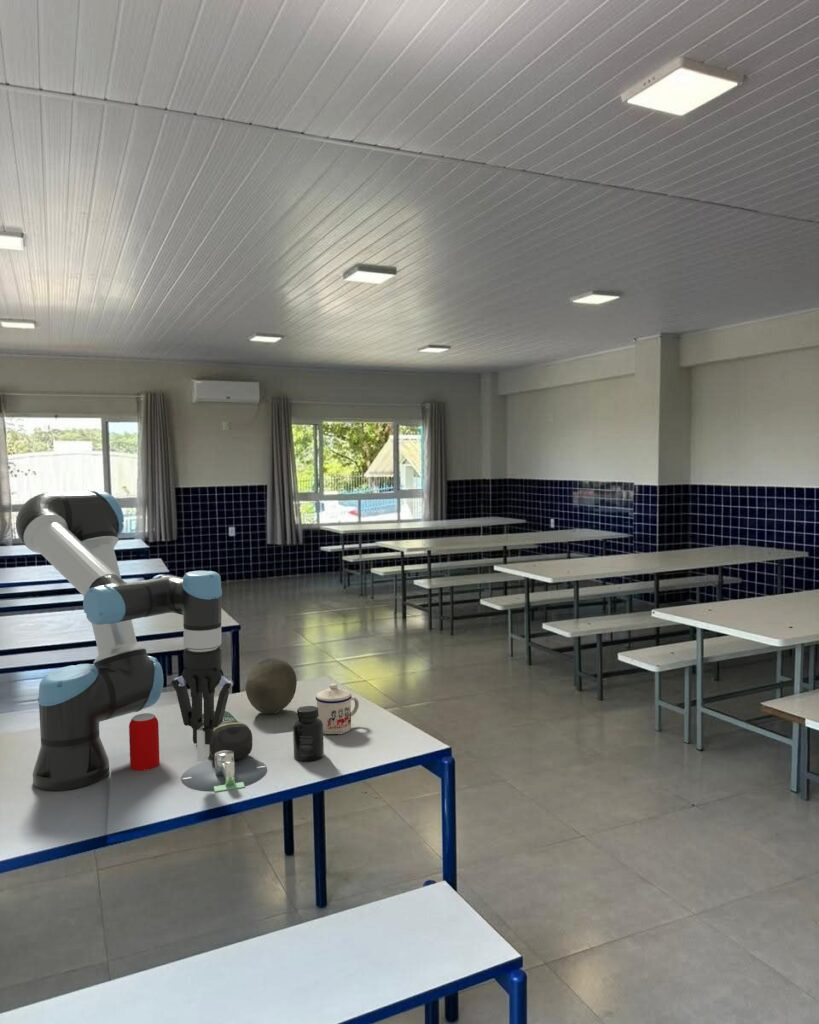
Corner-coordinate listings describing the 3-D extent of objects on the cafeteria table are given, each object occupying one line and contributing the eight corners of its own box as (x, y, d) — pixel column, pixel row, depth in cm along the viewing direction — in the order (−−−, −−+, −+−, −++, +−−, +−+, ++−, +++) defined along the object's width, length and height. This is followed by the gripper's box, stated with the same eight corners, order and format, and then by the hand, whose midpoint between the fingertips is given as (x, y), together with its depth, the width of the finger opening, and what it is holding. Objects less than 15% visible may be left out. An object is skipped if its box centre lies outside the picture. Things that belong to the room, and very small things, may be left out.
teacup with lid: (328, 738, 182) (327, 692, 181) (309, 728, 189) (308, 683, 188) (368, 727, 189) (367, 683, 188) (348, 718, 196) (348, 675, 196)
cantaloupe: (236, 712, 202) (235, 658, 201) (283, 702, 211) (281, 650, 210) (259, 726, 191) (258, 669, 190) (307, 715, 199) (306, 660, 199)
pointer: (213, 770, 160) (213, 748, 160) (232, 766, 161) (232, 745, 161) (220, 788, 151) (220, 765, 150) (240, 784, 152) (240, 762, 152)
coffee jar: (231, 707, 182) (256, 724, 166) (232, 739, 182) (256, 759, 166) (192, 712, 177) (213, 730, 161) (192, 745, 177) (214, 767, 161)
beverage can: (125, 774, 161) (123, 720, 161) (139, 763, 167) (137, 711, 167) (151, 775, 160) (149, 721, 160) (164, 764, 167) (163, 712, 166)
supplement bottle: (330, 758, 169) (329, 707, 168) (310, 768, 163) (308, 715, 162) (307, 752, 173) (306, 702, 172) (287, 762, 167) (286, 710, 166)
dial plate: (184, 802, 147) (183, 796, 147) (178, 768, 164) (178, 763, 164) (274, 787, 154) (273, 781, 154) (260, 756, 170) (259, 751, 170)
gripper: (239, 644, 154) (239, 753, 156) (181, 640, 156) (181, 749, 158) (225, 653, 146) (226, 768, 148) (164, 649, 148) (165, 763, 150)
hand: (203, 758), depth 153 cm, fingers closed
